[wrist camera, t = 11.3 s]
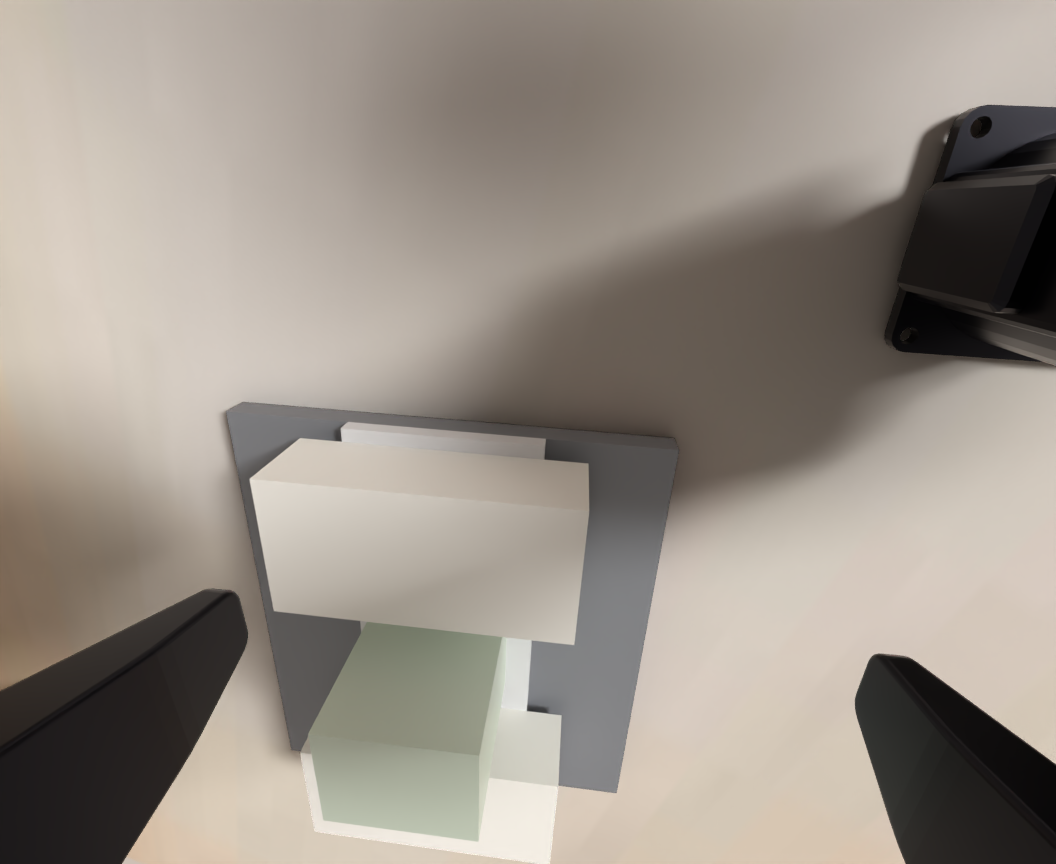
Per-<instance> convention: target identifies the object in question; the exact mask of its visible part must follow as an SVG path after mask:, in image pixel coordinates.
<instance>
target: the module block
mask: <svg viewBox="0 0 1056 864" xmlns="http://www.w3.org/2000/svg"><path fill="white" fill-rule="evenodd" d="M506 642H507V638H506V637H497V636H489V635H480V634H471V633H462V632H453V631H444V630H436V629H427V628H418V627H409V626H400V625H391V624H383V623H374V622H367V623H366V625H365V627H364V628H363V630H362V632H361V634H360V636H359V638H358V640H357V642H356V644H355V646H354V647H353V649H352V651H351V653H350V655H349V657H348V659H347V661H346V663H345V665H344V666H343V668H342V670H341V672H340V674H339V676H338V678H337V680H336V682H335V684H334V685H333V687H332V689H331V691H330V693H329V695H328V697H327V699H326V701H325V703H324V704H323V706H322V708H321V710H320V712H319V714H318V716H317V718H316V720H315V722H314V724H313V725H312V727H311V729H310V731H309V733H308V738H309V743H310V749H311V754H312V760H313V765H314V771H315V776H316V782H317V787H318V793H319V798H320V804H321V810H322V815H323V820H324V821H331V822H338V823H346V824H353V825H360V826H367V827H375V828H382V829H389V830H396V831H404V832H411V833H418V834H425V835H433V836H440V837H447V838H454V839H462V840H469V841H476V842H478V841H479V835H480V829H481V823H482V817H483V811H484V805H485V799H486V793H487V787H488V781H489V775H490V769H491V763H492V757H493V751H494V745H495V739H496V733H497V727H498V721H499V715H500V709H501V703H502V697H503V691H504V685H505V670H506Z"/></svg>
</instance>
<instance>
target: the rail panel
mask: <svg viewBox="0 0 1056 864" xmlns="http://www.w3.org/2000/svg"><path fill="white" fill-rule="evenodd" d="M226 414H227V419H228V424H229V429H230V434H231V439H232V445H233V450H234V455H235V460H236V465H237V470H238V476H239V481H240V486H241V491H242V496H243V501H244V507H245V512H246V517H247V522H248V527H249V532H250V538H251V543H252V548H253V553H254V558H255V563H256V569H257V574H258V579H259V584H260V589H261V594H262V600H263V605H264V610H265V615H266V620H267V625H268V631H269V636H270V641H271V646H272V651H273V656H274V662H275V667H276V672H277V677H278V682H279V687H280V693H281V698H282V703H283V708H284V713H285V718H286V724H287V729H288V734H289V739H290V744H291V749H292V750H294V751H300V756H301V761H302V766H303V772H304V777H305V783H306V788H307V793H308V799H309V804H310V810H311V815H312V821H313V826H314V831H315V832H320V833H327V834H334V835H341V836H348V837H355V838H362V839H369V840H375V841H382V842H389V843H396V844H403V845H410V846H417V847H424V848H431V849H438V850H445V851H452V852H459V853H466V854H473V855H480V856H487V857H494V858H501V859H508V860H515V861H522V862H529V863H536V864H550V857H551V848H552V839H553V830H554V821H555V812H556V803H557V794H558V786H566V787H574V788H581V789H589V790H596V791H604V792H611V793H617V788H618V782H619V777H620V771H621V766H622V760H623V755H624V750H625V744H626V739H627V733H628V728H629V722H630V717H631V711H632V706H633V700H634V695H635V689H636V684H637V678H638V673H639V667H640V662H641V656H642V651H643V645H644V640H645V634H646V629H647V623H648V618H649V612H650V607H651V601H652V596H653V591H654V585H655V580H656V574H657V569H658V563H659V558H660V552H661V547H662V541H663V536H664V530H665V525H666V519H667V514H668V508H669V503H670V497H671V492H672V486H673V481H674V475H675V470H676V464H677V459H678V453H679V449H678V446H677V444H676V441H675V439H674V438H665V437H653V436H641V435H629V434H617V433H606V432H594V431H582V430H570V429H558V428H546V427H534V426H522V425H510V424H499V423H487V422H475V421H463V420H451V419H439V418H427V417H415V416H403V415H391V414H380V413H368V412H356V411H344V410H332V409H320V408H308V407H296V406H284V405H273V404H261V403H249V402H242V403H240V404H238V405H237V406H235V407H233V408H231V409H230V410H228V411H226ZM367 622H374V623H383V624H391V625H400V626H409V627H418V628H427V629H436V630H444V631H453V632H462V633H471V634H480V635H489V636H497V637H506V638H507V642H506V670H505V685H504V691H503V697H502V703H501V709H500V715H499V721H498V727H497V733H496V739H495V745H494V751H493V757H492V763H491V769H490V775H489V781H488V787H487V793H486V799H485V805H484V811H483V817H482V823H481V829H480V835H479V841H478V842H476V841H469V840H462V839H454V838H447V837H440V836H433V835H425V834H418V833H411V832H404V831H396V830H389V829H382V828H375V827H367V826H360V825H353V824H346V823H338V822H331V821H324V820H323V815H322V810H321V804H320V798H319V793H318V787H317V782H316V776H315V771H314V765H313V760H312V754H311V749H310V743H309V738H308V733H309V731H310V729H311V727H312V725H313V724H314V722H315V720H316V718H317V716H318V714H319V712H320V710H321V708H322V706H323V704H324V703H325V701H326V699H327V697H328V695H329V693H330V691H331V689H332V687H333V685H334V684H335V682H336V680H337V678H338V676H339V674H340V672H341V670H342V668H343V666H344V665H345V663H346V661H347V659H348V657H349V655H350V653H351V651H352V649H353V647H354V646H355V644H356V642H357V640H358V638H359V636H360V634H361V632H362V630H363V628H364V627H365V625H366V623H367Z"/></svg>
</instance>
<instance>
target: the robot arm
mask: <svg viewBox="0 0 1056 864" xmlns="http://www.w3.org/2000/svg"><path fill="white" fill-rule="evenodd" d="M976 119H978V120H979V121H980V122H981V131H980V132H979V134H978V135H977V136H976V137H975V138H974V137H972V135H971V133H970V128H971V125H972V124H973V122H974V121H975V120H976ZM897 282H898V283H899V285H900V288H899V291H898V294H897V297H896V300H895V303H894V306H893V309H892V312H891V316H890V319H889V322H888V325H887V328H886V331H885V341H886V343H887V344H888V345H889V346H890V347H891V348H894V349H896V350H898V351H902V352H911V353H925V354H939V355H953V356H968V357H982V358H996V359H1010V360H1024V361H1039V362H1046V363H1049V364H1052V365H1055V366H1056V107H1031V106H1005V105H985V106H980V107H976V108H972V109H969V110H967V111H965V112H964V113H962V114H961V115H960V116H959V117H958V118H957V119H956V120H955V122H954V124H953V126H952V128H951V130H950V133H949V136H948V140H947V143H946V146H945V149H944V152H943V155H942V158H941V161H940V164H939V167H938V170H937V174H936V177H935V180H934V183H933V186H932V187H931V188H930V189H928V190H927V191H926V192H925V194H924V197H923V200H922V204H921V207H920V210H919V213H918V216H917V219H916V222H915V225H914V229H913V232H912V235H911V238H910V241H909V244H908V247H907V250H906V254H905V257H904V260H903V263H902V266H901V269H900V272H899V275H898V279H897ZM907 328H911V334H910V336H909V337H908V338H907V339H905V340H904V341H901V340H900V335H901V334H902V332H903V331H904V330H905V329H907ZM247 640H248V630H247V626H246V622H245V618H244V614H243V610H242V606H241V603H240V599H239V596H238V595H237V594H236V593H235V592H234V591H231V590H222V589H206V590H203V591H201V592H199V593H197V594H195V595H193V596H191V597H189V598H187V599H185V600H183V601H181V602H179V603H177V604H175V605H173V606H171V607H168V608H166V609H164V610H162V611H160V612H158V613H156V614H154V615H152V616H150V617H148V618H146V619H144V620H142V621H140V622H138V623H136V624H134V625H132V626H130V627H128V628H126V629H124V630H122V631H120V632H118V633H116V634H114V635H112V636H110V637H108V638H106V639H104V640H102V641H100V642H98V643H96V644H94V645H92V646H90V647H88V648H86V649H84V650H82V651H80V652H78V653H76V654H74V655H72V656H70V657H68V658H66V659H64V660H62V661H60V662H58V663H56V664H54V665H52V666H50V667H48V668H46V669H44V670H42V671H40V672H38V673H36V674H34V675H32V676H30V677H28V678H26V679H24V680H22V681H20V682H18V683H16V684H13V685H11V686H9V687H7V688H5V689H3V690H1V691H0V864H122V863H123V861H124V860H125V858H126V856H127V855H128V853H129V852H130V850H131V848H132V847H133V845H134V844H135V842H136V841H137V839H138V837H139V836H140V834H141V833H142V831H143V829H144V828H145V826H146V825H147V823H148V821H149V820H150V818H151V817H152V815H153V813H154V812H155V810H156V809H157V807H158V805H159V804H160V802H161V801H162V799H163V797H164V796H165V794H166V793H167V791H168V790H169V788H170V786H171V785H172V783H173V782H174V780H175V778H176V777H177V775H178V774H179V772H180V770H181V769H182V767H183V765H184V764H185V762H186V760H187V759H188V757H189V755H190V754H191V752H192V750H193V748H194V747H195V745H196V743H197V741H198V739H199V737H200V736H201V734H202V732H203V730H204V728H205V726H206V724H207V722H208V720H209V718H210V716H211V714H212V712H213V710H214V708H215V706H216V705H217V703H218V701H219V699H220V697H221V695H222V693H223V691H224V689H225V687H226V685H227V683H228V681H229V679H230V677H231V675H232V673H233V671H234V669H235V667H236V666H237V664H238V662H239V660H240V658H241V656H242V654H243V652H244V650H245V647H246V644H247ZM855 710H856V715H857V719H858V722H859V725H860V728H861V731H862V735H863V738H864V741H865V744H866V747H867V750H868V754H869V757H870V760H871V763H872V766H873V769H874V773H875V776H876V779H877V782H878V785H879V788H880V792H881V795H882V798H883V801H884V804H885V807H886V810H887V814H888V817H889V820H890V823H891V826H892V829H893V832H894V835H895V837H896V840H897V843H898V846H899V848H900V851H901V853H902V856H903V858H904V861H905V863H906V864H1056V764H1055V763H1053V762H1052V761H1051V760H1049V759H1048V758H1047V757H1045V756H1044V755H1042V754H1041V753H1040V752H1038V751H1037V750H1036V749H1034V748H1033V747H1032V746H1030V745H1029V744H1028V743H1026V742H1025V741H1023V740H1022V739H1021V738H1019V737H1018V736H1017V735H1015V734H1014V733H1013V732H1011V731H1010V730H1008V729H1007V728H1006V727H1004V726H1003V725H1002V724H1000V723H999V722H998V721H996V720H995V719H994V718H992V717H991V716H989V715H988V714H987V713H985V712H984V711H983V710H981V709H980V708H979V707H977V706H976V705H974V704H973V703H972V702H970V701H969V700H968V699H966V698H965V697H964V696H962V695H961V694H960V693H958V692H957V691H955V690H954V689H953V688H951V687H950V686H949V685H947V684H946V683H945V682H943V681H942V680H940V679H939V678H938V677H936V676H935V675H934V674H932V673H931V672H930V671H928V670H927V669H926V668H924V667H923V666H921V665H920V664H919V663H917V662H916V661H914V660H913V659H911V658H909V657H906V656H900V655H890V654H875V655H873V656H872V657H871V658H870V660H869V662H868V664H867V667H866V670H865V672H864V675H863V678H862V680H861V683H860V685H859V688H858V691H857V693H856V697H855Z"/></svg>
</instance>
